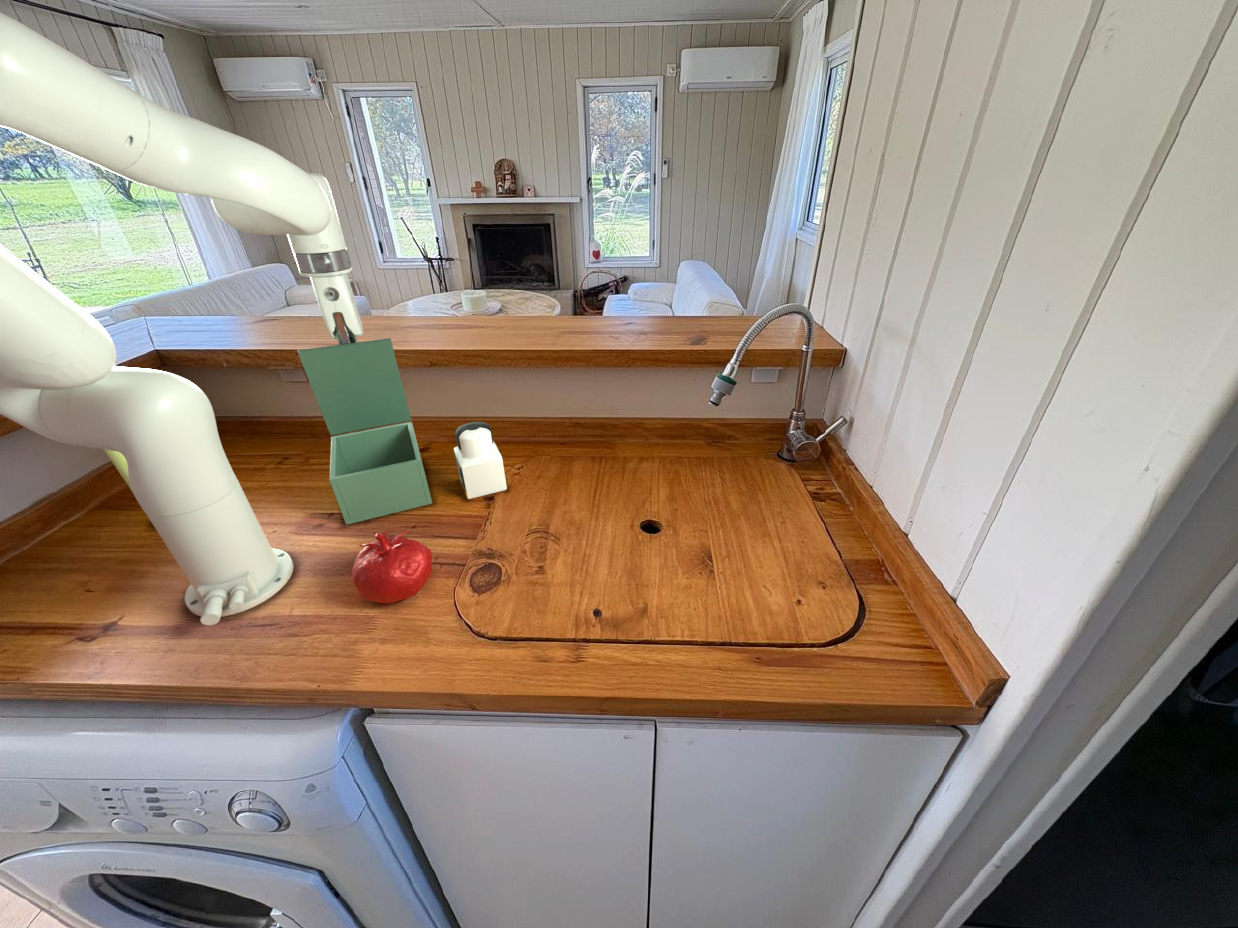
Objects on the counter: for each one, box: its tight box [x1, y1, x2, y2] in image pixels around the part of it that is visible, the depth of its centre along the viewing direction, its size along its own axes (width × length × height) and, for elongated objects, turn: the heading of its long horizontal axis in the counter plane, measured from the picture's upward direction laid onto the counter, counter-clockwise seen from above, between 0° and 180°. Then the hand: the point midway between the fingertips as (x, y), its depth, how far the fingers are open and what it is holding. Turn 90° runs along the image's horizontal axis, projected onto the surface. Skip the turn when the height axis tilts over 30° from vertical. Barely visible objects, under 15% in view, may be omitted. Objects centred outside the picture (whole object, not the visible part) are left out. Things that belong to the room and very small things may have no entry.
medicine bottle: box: [453, 421, 508, 500], centre depth 88 cm, size 7×7×12 cm
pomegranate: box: [351, 529, 433, 604], centre depth 67 cm, size 10×10×9 cm
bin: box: [329, 421, 433, 526], centre depth 87 cm, size 16×14×9 cm
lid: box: [297, 338, 412, 436], centre depth 85 cm, size 16×14×1 cm
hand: (357, 371), depth 88 cm, fingers closed
